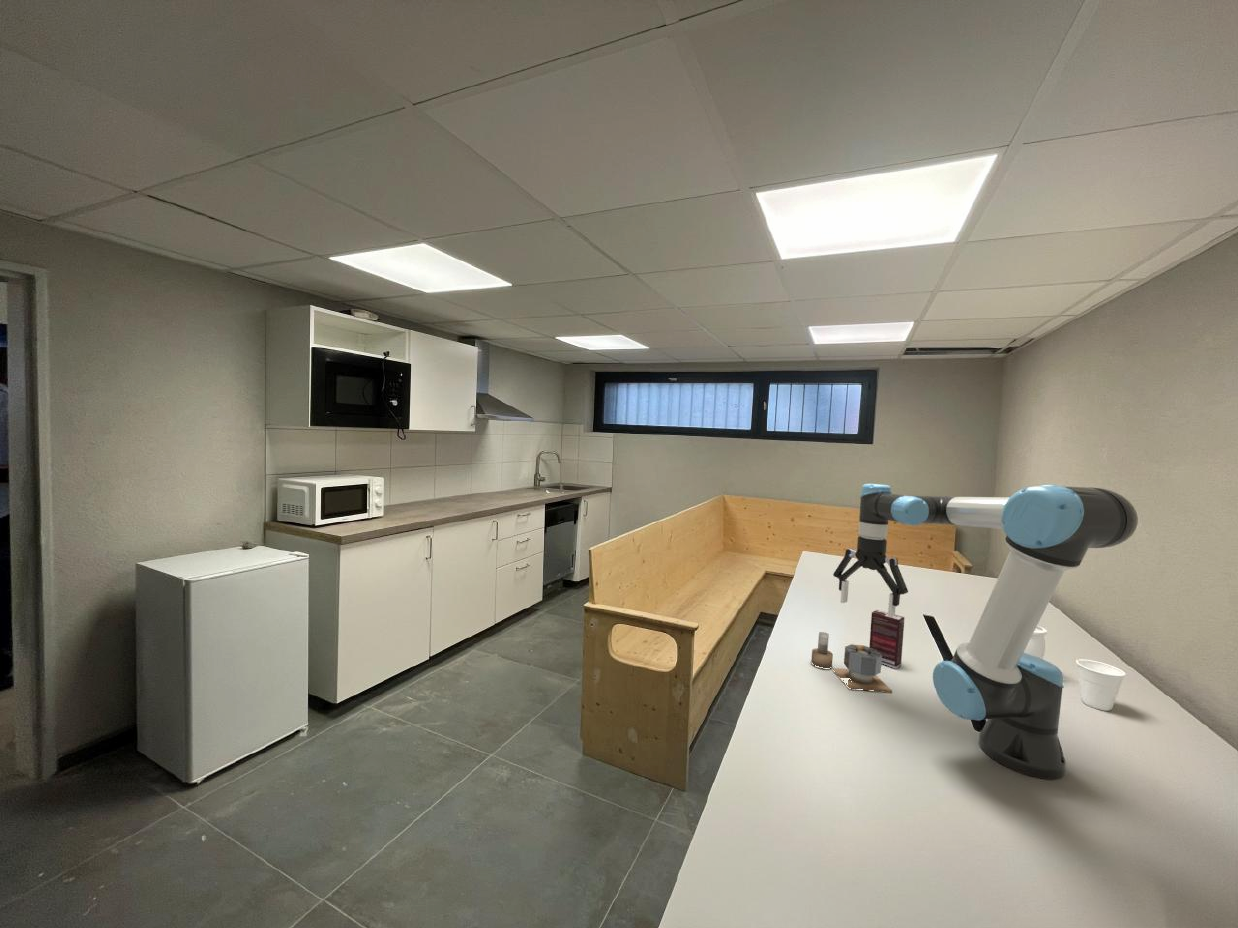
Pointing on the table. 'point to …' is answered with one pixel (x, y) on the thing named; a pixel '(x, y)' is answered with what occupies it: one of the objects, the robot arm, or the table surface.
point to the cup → (1099, 683)
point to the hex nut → (862, 660)
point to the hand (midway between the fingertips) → (866, 609)
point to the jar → (1037, 643)
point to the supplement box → (887, 637)
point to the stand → (822, 652)
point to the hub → (862, 680)
